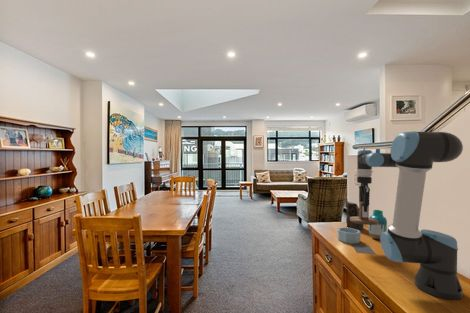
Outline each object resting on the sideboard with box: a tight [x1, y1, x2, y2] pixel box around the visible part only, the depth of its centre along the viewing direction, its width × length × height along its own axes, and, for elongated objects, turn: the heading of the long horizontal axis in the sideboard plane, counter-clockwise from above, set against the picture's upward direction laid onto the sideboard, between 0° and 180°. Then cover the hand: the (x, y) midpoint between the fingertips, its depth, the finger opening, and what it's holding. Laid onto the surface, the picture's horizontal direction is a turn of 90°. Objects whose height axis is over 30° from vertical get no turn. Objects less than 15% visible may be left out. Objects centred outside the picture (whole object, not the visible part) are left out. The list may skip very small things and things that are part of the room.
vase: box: [368, 209, 388, 241], centre depth 162 cm, size 11×11×19 cm
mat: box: [351, 243, 377, 255], centre depth 142 cm, size 14×10×1 cm
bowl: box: [336, 226, 361, 245], centre depth 157 cm, size 13×13×7 cm
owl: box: [345, 201, 364, 232], centre depth 187 cm, size 13×13×20 cm
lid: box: [350, 201, 379, 226], centre depth 142 cm, size 15×15×11 cm
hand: (363, 216), depth 142 cm, fingers closed on lid, 4 cm apart
